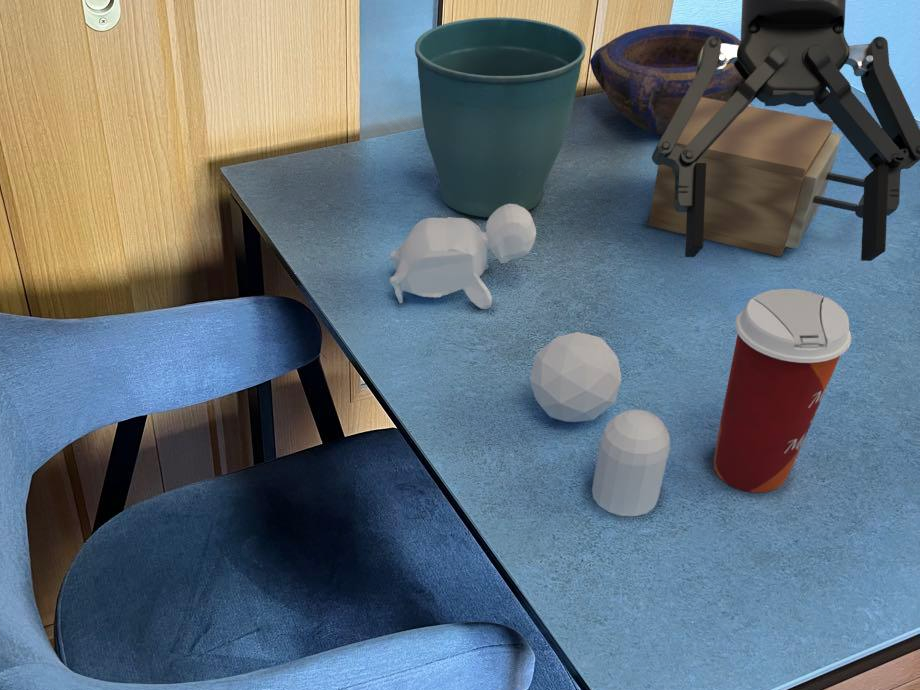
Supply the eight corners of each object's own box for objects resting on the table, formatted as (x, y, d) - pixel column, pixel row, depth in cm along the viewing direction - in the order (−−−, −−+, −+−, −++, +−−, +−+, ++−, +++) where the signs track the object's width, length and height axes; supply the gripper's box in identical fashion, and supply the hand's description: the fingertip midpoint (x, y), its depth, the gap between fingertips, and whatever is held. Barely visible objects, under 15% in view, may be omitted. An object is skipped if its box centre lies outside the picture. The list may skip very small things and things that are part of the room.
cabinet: (809, 206, 118) (834, 121, 111) (780, 257, 110) (805, 169, 103) (683, 179, 123) (700, 96, 116) (647, 225, 115) (662, 139, 109)
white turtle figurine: (411, 335, 106) (552, 287, 102) (379, 267, 101) (527, 213, 96) (410, 291, 112) (544, 244, 108) (380, 224, 107) (520, 172, 102)
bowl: (574, 101, 140) (583, 23, 133) (700, 89, 142) (715, 12, 135) (620, 158, 128) (632, 75, 121) (756, 144, 130) (776, 62, 123)
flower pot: (440, 153, 129) (443, 8, 118) (582, 172, 125) (600, 23, 113) (393, 220, 117) (392, 66, 105) (549, 243, 113) (565, 85, 101)
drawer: (874, 214, 114) (897, 145, 109) (851, 262, 107) (875, 190, 102) (703, 178, 121) (717, 110, 116) (671, 220, 114) (685, 151, 109)
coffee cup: (814, 501, 83) (873, 344, 72) (712, 503, 83) (756, 347, 72) (784, 435, 89) (835, 281, 78) (689, 437, 89) (726, 284, 78)
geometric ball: (582, 448, 92) (603, 426, 84) (506, 402, 93) (520, 375, 85) (625, 379, 93) (650, 351, 85) (550, 333, 94) (567, 301, 86)
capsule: (672, 501, 83) (691, 423, 78) (620, 525, 81) (636, 447, 76) (628, 464, 87) (644, 387, 81) (578, 486, 85) (590, 409, 79)
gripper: (937, 7, 83) (926, 270, 83) (623, 6, 85) (612, 263, 85) (985, -46, 75) (973, 243, 75) (640, -46, 77) (628, 236, 77)
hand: (782, 254), depth 80 cm, fingers open, 13 cm apart
